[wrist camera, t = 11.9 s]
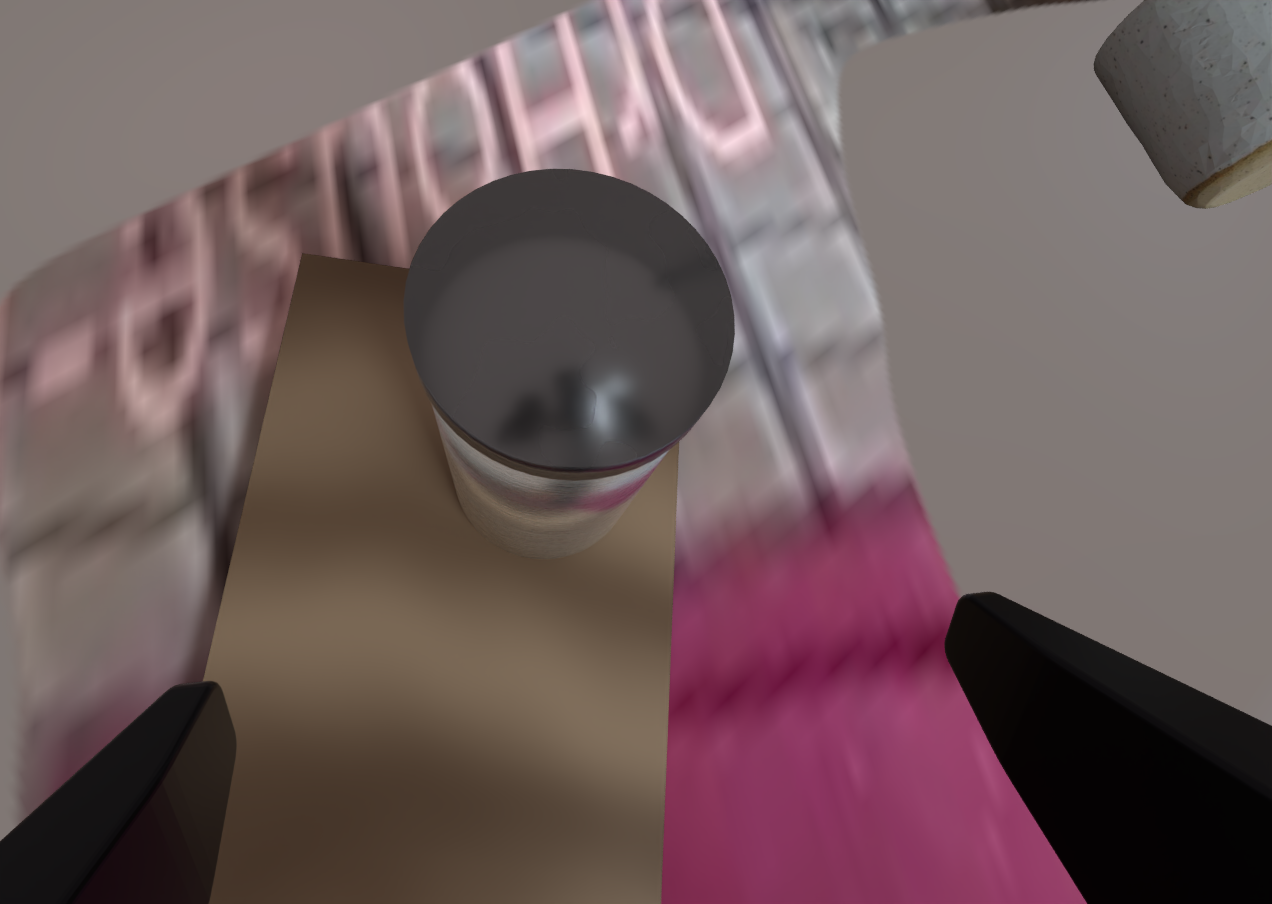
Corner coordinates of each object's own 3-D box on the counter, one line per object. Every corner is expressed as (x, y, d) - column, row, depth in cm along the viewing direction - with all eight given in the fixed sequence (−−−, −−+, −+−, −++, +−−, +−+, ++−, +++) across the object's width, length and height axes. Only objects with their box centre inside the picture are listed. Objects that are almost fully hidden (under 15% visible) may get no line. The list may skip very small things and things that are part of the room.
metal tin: (657, 533, 21) (779, 420, 12) (476, 586, 20) (449, 507, 10) (604, 369, 22) (676, 149, 13) (431, 409, 21) (370, 194, 12)
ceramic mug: (1152, 239, 30) (1362, 101, 23) (1053, 86, 32) (1220, -88, 24) (1306, 186, 33) (1533, 50, 26) (1208, 49, 35) (1397, -114, 28)
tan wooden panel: (651, 925, 19) (659, 938, 18) (162, 924, 17) (143, 938, 16) (676, 323, 25) (684, 309, 24) (310, 270, 23) (302, 253, 22)
